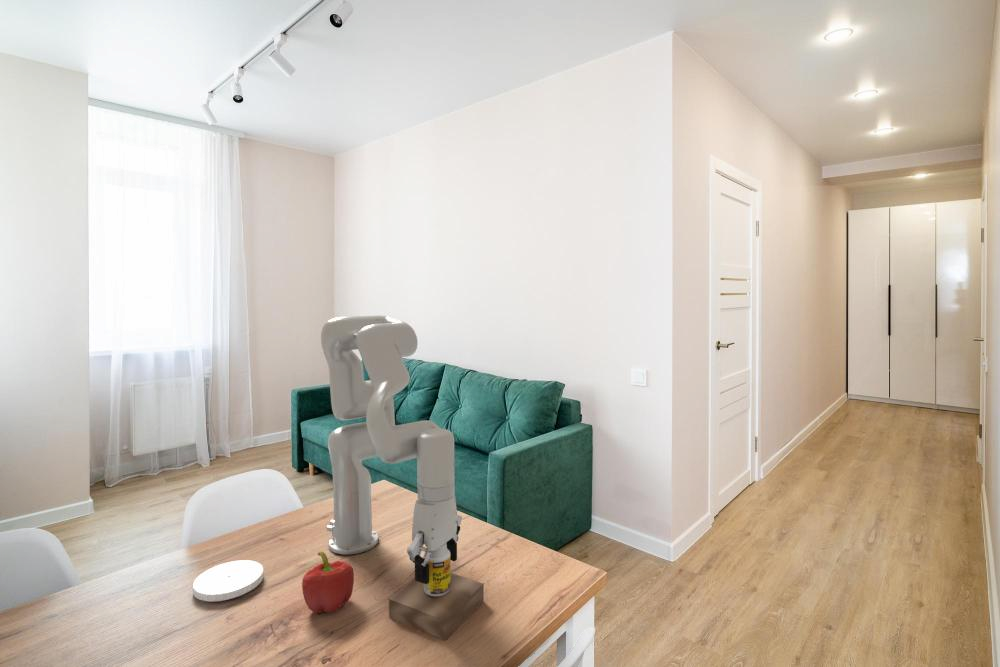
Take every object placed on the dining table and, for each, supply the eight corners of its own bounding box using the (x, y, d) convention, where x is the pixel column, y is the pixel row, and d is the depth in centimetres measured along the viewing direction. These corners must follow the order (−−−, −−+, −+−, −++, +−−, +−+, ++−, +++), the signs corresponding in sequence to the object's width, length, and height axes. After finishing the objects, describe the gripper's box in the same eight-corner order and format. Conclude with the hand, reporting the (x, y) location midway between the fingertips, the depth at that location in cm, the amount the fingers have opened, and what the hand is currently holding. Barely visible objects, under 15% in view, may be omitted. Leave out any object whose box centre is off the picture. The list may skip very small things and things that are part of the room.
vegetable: (295, 601, 108) (294, 556, 108) (343, 584, 115) (342, 542, 114) (311, 628, 100) (310, 579, 99) (362, 608, 106) (361, 562, 105)
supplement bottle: (430, 601, 102) (430, 552, 101) (419, 587, 106) (418, 540, 106) (455, 592, 105) (455, 544, 104) (443, 579, 109) (442, 534, 109)
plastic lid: (231, 565, 123) (231, 555, 123) (277, 576, 119) (277, 566, 118) (178, 598, 110) (177, 587, 110) (226, 611, 105) (226, 600, 105)
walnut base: (389, 617, 103) (388, 598, 103) (430, 583, 115) (430, 566, 115) (445, 640, 96) (445, 620, 96) (483, 601, 108) (483, 583, 108)
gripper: (445, 473, 113) (446, 547, 114) (393, 501, 98) (394, 586, 99) (474, 479, 109) (474, 556, 111) (424, 509, 94) (425, 597, 96)
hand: (436, 570), depth 105 cm, fingers open, 9 cm apart
